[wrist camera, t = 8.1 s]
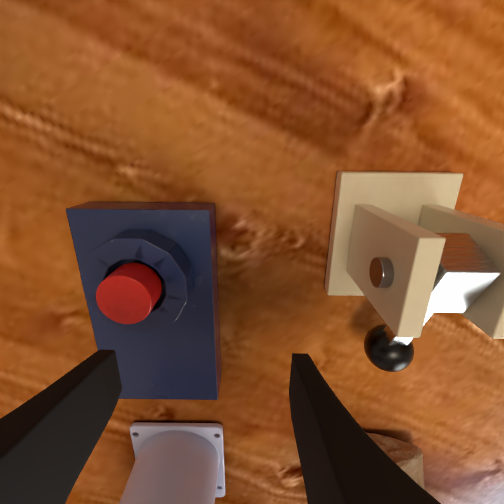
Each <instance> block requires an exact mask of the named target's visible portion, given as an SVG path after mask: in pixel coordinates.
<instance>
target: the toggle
mask: <svg viewBox="0 0 504 504" xmlns="http://www.w3.org/2000/svg"><path fill="white" fill-rule="evenodd" d="M435 234H438V235H440V236H442V237H444V238H446V241H445V244H444V248H443V252H442V256H441V259H440V263H439V267H438V271H437V275H436V278H435V282H434V286H433V290H432V294H431V297H430V301H429V305H428V309H427V313H426V316H425V320H424V324H425V323H426V322H427V321H428V319H429V318H430V317H431V316H432V314H433V313H434V312H436V313H463V312H465V311H466V310H467V309H468V308H469V307H470V305H471V304H472V303H473V302H474V301H475V300H476V299H477V298H478V297H479V296H480V295H481V294H482V293H483V292H484V291H485V290H486V289H487V288H488V286H489V285H490V284H491V283H492V282H493V281H494V280H495V279H496V278H497V277H498V276H499V275H500V274H501V271H500V269H499V268H498V267H497V266H496V265H495V264H494V263H493V261H492V260H491V259H490V258H489V257H488V256H487V254H486V253H485V252H484V251H483V250H482V249H481V248H480V246H479V245H478V244H477V243H476V242H475V241H474V239H473V238H472V237H471V236H470V235H469V234H468V233H435ZM424 324H423V326H424ZM412 339H413V338H398V337H396V336H395V334H394V333H393V332H392V330H391V329H390V328H389V326H388V325H386V324H384V325H378V326H376V327H374V328H372V329H371V330H370V331H369V332H368V333H367V335H366V337H365V340H364V349H365V353H366V355H367V357H368V359H369V360H370V361H371V362H372V364H374V365H375V366H376V367H378V368H379V369H382V370H384V371H389V372H396V371H401V370H403V369H405V368H406V367H407V366H408V365H409V364H410V363H411V361H412V359H413V355H414V348H413V344H412V341H411V340H412Z"/></svg>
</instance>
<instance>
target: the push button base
mask: <svg viewBox="0 0 504 504" xmlns="http://www.w3.org/2000/svg"><path fill="white" fill-rule="evenodd" d="M66 212H67V217H68V221H69V226H70V230H71V234H72V239H73V243H74V248H75V252H76V256H77V261H78V265H79V270H80V274H81V280H82V285H83V289H84V293H85V298H86V300H87V305H88V309H89V314H90V318H91V322H92V327H93V331H94V336H95V340H96V344H97V349H98V351H99V350H115V352H116V357H117V363H118V368H119V373H120V379H121V384H122V391H121V393H120V396H119V399H192V400H218V395H219V388H220V381H221V356H220V330H219V305H218V279H217V253H216V227H215V204H214V203H162V202H87V203H83V204H80V205H77V206H74V207H70V208H67V209H66ZM126 263H140V264H144V265H146V266H148V267H150V268H151V269H152V270H153V271H155V273H156V274H157V275H158V277H159V278H160V281H161V285H162V292H161V296H160V298H159V299H158V301H157V302H156V304H155V305H154V307H153V309H152V310H151V312H150V313H149V315H148V316H147V317H146V318H145V319H144V320H142V321H140V322H138V323H134V324H122V323H118V322H115V321H113V320H111V319H110V318H108V317H107V316H106V315H104V314H103V313H102V311H101V310H100V308H99V307H98V304H97V301H96V291H97V288H98V286H99V284H100V283H101V282H102V281H103V280H104V279H105V278H106V277H108V276H109V275H110V274H111V273H112V272H113V271H115V270H116V269H117V268H118V267H120V266H121V265H123V264H126Z"/></svg>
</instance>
